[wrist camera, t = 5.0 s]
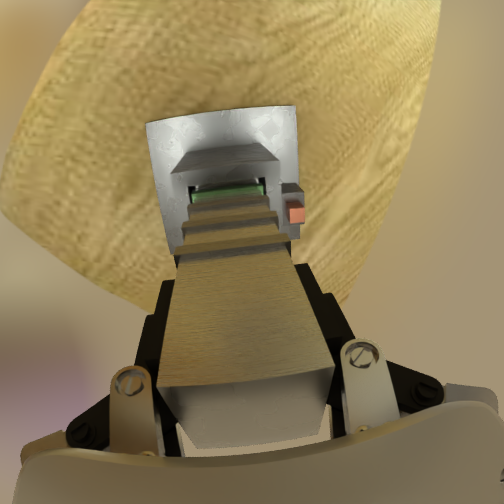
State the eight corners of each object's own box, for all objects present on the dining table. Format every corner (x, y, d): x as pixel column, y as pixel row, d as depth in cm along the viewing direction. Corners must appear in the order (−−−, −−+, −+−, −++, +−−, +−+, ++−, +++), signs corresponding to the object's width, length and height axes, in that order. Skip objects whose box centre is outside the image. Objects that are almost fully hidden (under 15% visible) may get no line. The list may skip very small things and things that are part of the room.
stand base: (147, 122, 24) (104, 134, 14) (292, 105, 24) (335, 106, 15) (172, 250, 31) (154, 316, 21) (297, 234, 31) (330, 295, 22)
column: (197, 175, 21) (145, 381, 5) (254, 169, 21) (344, 358, 6) (205, 227, 23) (192, 450, 8) (258, 221, 23) (322, 435, 8)
